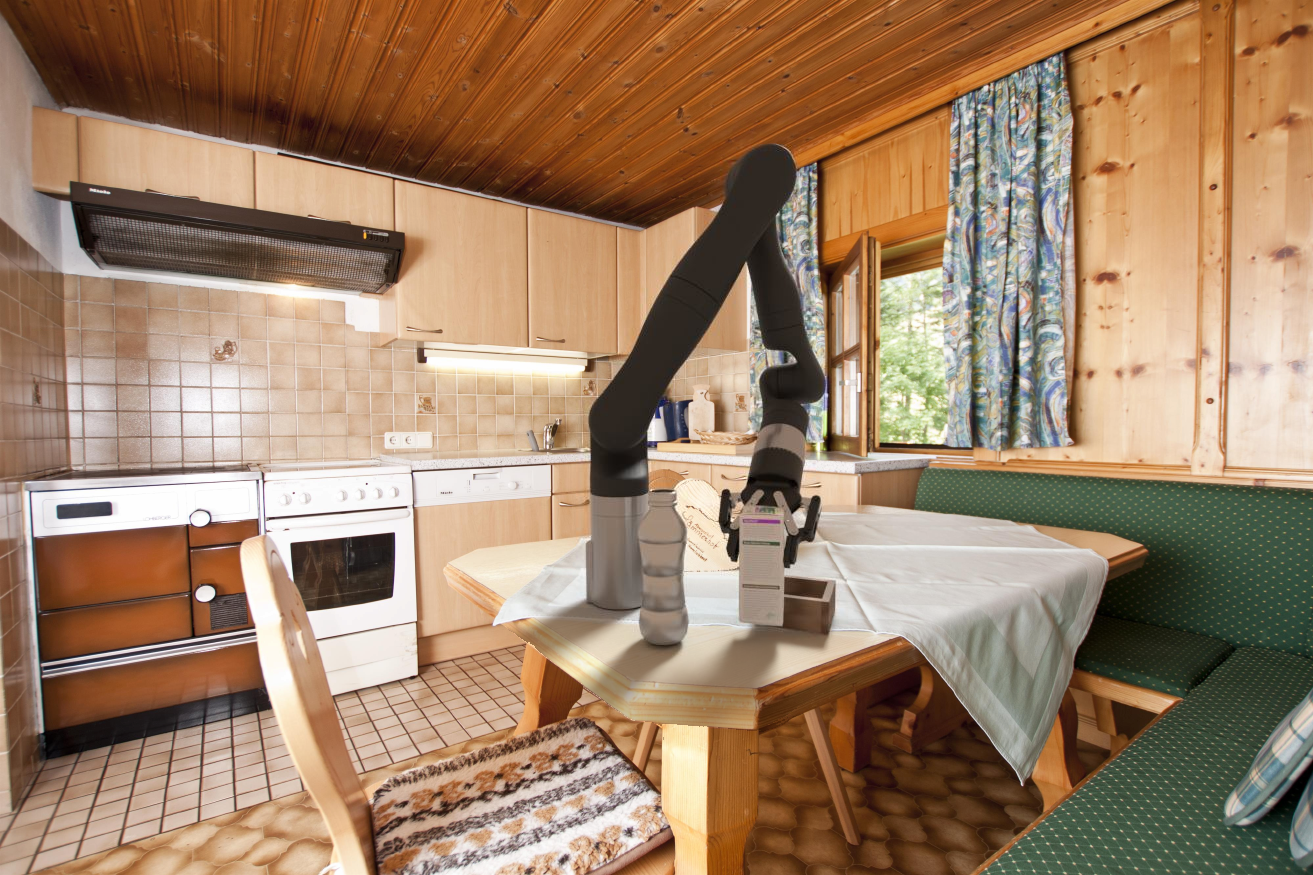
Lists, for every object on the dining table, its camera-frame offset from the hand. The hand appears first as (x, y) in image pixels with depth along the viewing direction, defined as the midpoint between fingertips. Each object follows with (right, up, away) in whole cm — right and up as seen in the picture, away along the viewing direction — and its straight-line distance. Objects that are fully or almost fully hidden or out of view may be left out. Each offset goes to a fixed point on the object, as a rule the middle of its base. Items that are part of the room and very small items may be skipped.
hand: (759, 561), depth 75 cm
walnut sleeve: (+7, -10, +10) cm, 16 cm away
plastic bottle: (-12, -11, +2) cm, 17 cm away
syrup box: (+1, -8, +2) cm, 8 cm away
